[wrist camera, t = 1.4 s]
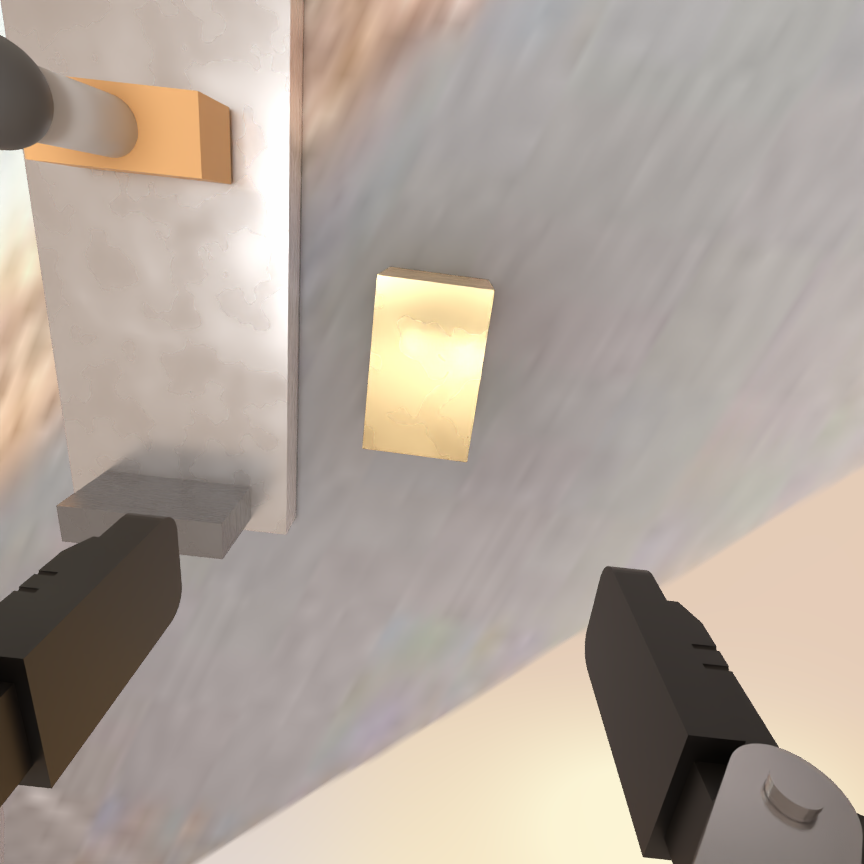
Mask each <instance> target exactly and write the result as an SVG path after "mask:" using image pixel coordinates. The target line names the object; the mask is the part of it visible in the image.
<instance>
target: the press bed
mask: <svg viewBox="0 0 864 864" xmlns="http://www.w3.org/2000/svg"><path fill="white" fill-rule="evenodd" d="M1 6H2V13H3V20H4V26H5V33H6V38H7V39H8V40H10V41H11V42H13V43H14V44H16V45H17V46H18V47H19V48H21V49H22V50H23V51H24V52H25V53H26V54H27V55H28V56H29V57H30V58H31V59H32V60H33V61H34V62H35V63H36V64H37V66H40V67H43V68H45V69H48V70H50V71H53V72H56V73H58V74H61V75H63V76H68V77H77V78H86V79H95V80H104V81H113V82H122V83H131V84H140V85H149V86H158V87H167V88H176V89H185V90H195V91H199V92H201V93H203V94H205V95H207V96H209V97H210V98H212V99H214V100H216V101H218V102H220V103H222V104H224V105H226V106H228V107H229V118H230V155H231V184H224V183H215V182H206V181H197V180H188V179H179V178H170V177H161V176H152V175H143V174H134V173H125V172H116V171H107V170H98V169H89V168H80V167H72V166H66V165H59V164H53V163H47V162H40V161H34V160H27V159H25V153H24V149H23V153H24V160H25V167H26V173H27V180H28V187H29V193H30V200H31V207H32V213H33V220H34V227H35V234H36V240H37V247H38V254H39V260H40V267H41V274H42V280H43V287H44V294H45V300H46V307H47V314H48V320H49V327H50V334H51V340H52V347H53V354H54V360H55V367H56V374H57V380H58V387H59V394H60V400H61V407H62V414H63V421H64V427H65V434H66V441H67V447H68V454H69V461H70V467H71V474H72V481H73V487H74V494H72V495H71V496H70V497H68V498H67V499H65V500H64V501H62V502H61V503H60V504H58V505H57V512H58V518H59V524H60V531H61V537H62V541H65V542H74V543H80V542H82V541H84V540H86V539H89V538H91V537H93V536H95V537H100V536H101V535H102V534H103V533H104V532H105V531H106V530H108V529H109V528H110V527H111V526H112V525H113V524H114V523H116V522H117V521H118V520H119V519H120V518H121V517H123V516H124V515H125V514H127V513H138V514H147V515H156V516H165V517H171V518H173V519H174V520H175V522H176V525H177V532H178V545H179V554H181V555H190V556H199V557H208V558H217V559H223V558H224V556H225V555H226V554H227V552H228V551H229V549H230V548H231V546H232V545H233V544H234V542H235V541H236V539H237V538H238V536H239V535H240V534H241V532H242V531H243V530H250V531H259V532H267V533H276V534H285V535H286V534H287V532H288V531H289V529H290V527H291V525H292V523H293V521H294V520H295V518H296V481H297V414H298V348H299V281H300V215H301V148H302V82H303V15H304V0H1Z"/></svg>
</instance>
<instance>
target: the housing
mask: <svg viewBox="0 0 864 864" xmlns="http://www.w3.org/2000/svg"><path fill="white" fill-rule="evenodd" d="M494 291H495V290H494V289H493V287H492V285H491V284H490V282H489V280H486V279H478V278H471V277H463V276H456V275H448V274H441V273H433V272H426V271H418V270H411V269H403V268H396V267H389V268H387V269H386V270H384V271H383V272H381V273H379V274H378V275H377V282H376V294H375V306H374V318H373V329H372V341H371V353H370V365H369V376H368V388H367V400H366V412H365V423H364V435H363V447H362V448H363V449H371V450H378V451H386V452H394V453H401V454H409V455H416V456H424V457H432V458H439V459H447V460H454V461H462V462H467V458H468V452H469V446H470V439H471V433H472V427H473V421H474V415H475V409H476V402H477V396H478V390H479V384H480V378H481V372H482V365H483V359H484V353H485V347H486V341H487V335H488V328H489V322H490V316H491V310H492V304H493V298H494Z"/></svg>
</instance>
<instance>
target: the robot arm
mask: <svg viewBox="0 0 864 864" xmlns="http://www.w3.org/2000/svg"><path fill="white" fill-rule="evenodd" d="M181 592H182V583H181V570H180V558H179V545H178V532H177V525H176V522H175V520H174V519H173V518H171V517H165V516H156V515H147V514H138V513H127V514H125V515H124V516H123V517H121V518H120V519H119V520H118V521H117V522H116V523H114V524H113V525H112V526H111V527H110V528H109V529H108V530H106V531H105V532H104V533H103V534H102V535H101V536H100V537H95V536H93V537H91V538H89V539H86V540H84V541H82V542H80V543H78V544H76V545H74V546H72V547H70V548H68V549H66V550H64V551H62V552H61V553H59V554H58V555H57V556H56V557H54V558H53V559H52V560H51V561H50V562H48V563H47V564H46V565H45V566H44V567H42V568H41V569H40V570H39V573H38V574H34V575H33V576H31V577H30V578H29V579H28V580H27V581H25V582H24V583H23V584H22V585H21V586H19V590H18V591H13V592H12V593H11V594H10V595H8V596H7V597H6V598H5V599H4V600H2V601H1V602H0V864H4V830H5V817H4V811H3V807H2V805H3V803H4V802H5V801H6V799H7V798H8V797H9V796H10V794H11V793H12V792H13V791H14V789H15V788H16V787H17V785H26V786H35V787H44V788H52V787H53V786H54V784H55V783H56V782H57V780H58V779H59V777H60V776H61V775H62V773H63V772H64V770H65V769H66V768H67V766H68V765H69V764H70V762H71V761H72V759H73V758H74V757H75V755H76V754H77V752H78V751H79V750H80V748H81V747H82V745H83V744H84V743H85V741H86V740H87V738H88V737H89V736H90V734H91V733H92V732H93V730H94V729H95V727H96V726H97V725H98V723H99V722H100V720H101V719H102V718H103V716H104V715H105V713H106V712H107V711H108V709H109V708H110V707H111V705H112V704H113V702H114V701H115V700H116V698H117V697H118V695H119V694H120V693H121V691H122V690H123V688H124V687H125V686H126V684H127V683H128V682H129V680H130V679H131V677H132V676H133V675H134V673H135V672H136V670H137V669H138V668H139V666H140V665H141V663H142V662H143V661H144V659H145V658H146V657H147V655H148V654H149V652H150V651H151V650H152V648H153V647H154V645H155V644H156V643H157V641H158V640H159V638H160V637H161V636H162V634H163V633H164V631H165V630H166V629H167V627H168V626H169V625H170V623H171V622H172V620H173V618H174V616H175V614H176V612H177V609H178V607H179V603H180V599H181ZM585 659H586V665H587V670H588V673H589V677H590V680H591V683H592V687H593V690H594V694H595V697H596V700H597V704H598V707H599V710H600V714H601V717H602V720H603V724H604V727H605V731H606V734H607V737H608V741H609V744H610V747H611V751H612V754H613V758H614V761H615V764H616V767H617V771H618V774H619V778H620V781H621V785H622V788H623V791H624V795H625V798H626V801H627V805H628V808H629V812H630V815H631V818H632V822H633V825H634V828H635V832H636V835H637V839H638V842H639V845H640V849H641V852H642V855H643V857H647V858H656V859H665V860H672V862H673V864H864V816H862V815H860V814H858V813H856V811H855V809H854V807H853V806H852V804H851V803H850V801H849V800H848V798H847V797H846V796H845V795H844V793H843V792H842V791H841V790H840V789H839V788H838V787H837V785H836V784H834V782H833V781H832V780H831V779H829V778H828V777H827V776H826V775H825V774H824V773H823V772H821V771H820V770H818V769H817V768H816V767H815V766H813V765H812V764H810V763H809V762H807V761H806V760H804V759H802V758H801V757H799V756H797V755H795V754H792V753H791V752H788V751H786V750H784V749H781V748H779V747H778V745H777V743H776V742H775V740H774V739H773V737H772V735H771V734H770V732H769V731H768V729H767V728H766V726H765V724H764V722H763V721H762V719H761V718H760V716H759V714H758V713H757V711H756V710H755V708H754V706H753V705H752V703H751V701H750V700H749V698H748V697H747V695H746V694H745V692H744V690H743V689H742V687H741V685H740V684H739V682H738V681H737V679H736V677H735V676H734V674H733V672H731V671H729V669H728V664H727V663H726V661H725V660H724V658H723V656H722V655H721V653H720V652H719V651H717V650H716V645H715V644H714V642H713V640H712V639H711V637H710V635H709V634H708V632H707V631H706V629H705V627H704V626H703V624H702V623H701V622H700V621H699V620H698V619H697V618H696V617H694V616H693V615H692V614H691V613H690V612H689V611H688V610H687V609H685V608H684V607H683V606H682V605H681V604H680V603H679V602H674V601H667V600H666V598H665V597H664V595H663V593H662V591H661V589H660V588H659V586H658V584H657V582H656V580H655V579H654V577H653V575H652V574H651V573H650V572H649V571H647V570H637V569H628V568H619V567H610V566H607V567H605V568H604V570H603V572H602V574H601V577H600V581H599V585H598V589H597V593H596V597H595V601H594V605H593V609H592V612H591V616H590V620H589V624H588V628H587V632H586V639H585Z"/></svg>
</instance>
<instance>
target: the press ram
mask: <svg viewBox="0 0 864 864" xmlns="http://www.w3.org/2000/svg"><path fill="white" fill-rule="evenodd" d="M19 149H24V153H25V159H27V160H34V161H40V162H47V163H53V164H59V165H66V166H72V167H80V168H89V169H98V170H107V171H116V172H125V173H134V174H143V175H152V176H161V177H170V178H179V179H188V180H197V181H206V182H215V183H224V184H231V155H230V118H229V107H228V106H226V105H224V104H222V103H220V102H218V101H216V100H214V99H212V98H210V97H209V96H207V95H205V94H203V93H201V92H199V91H195V90H185V89H176V88H167V87H158V86H149V85H140V84H131V83H122V82H113V81H104V80H95V79H86V78H77V77H68V76H63V75H61V74H58V73H56V72H53V71H50V70H48V69H45V68H43V67H40V66H37V64H36V63H35V62H34V61H33V60H32V59H31V58H30V57H29V56H28V55H27V54H26V53H25V52H24V51H23V50H22V49H21V48H19V47H18V46H17V45H16V44H14V43H13V42H11V41H10V40H8V39H7V38H5V37H3V36H1V35H0V150H19Z"/></svg>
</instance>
